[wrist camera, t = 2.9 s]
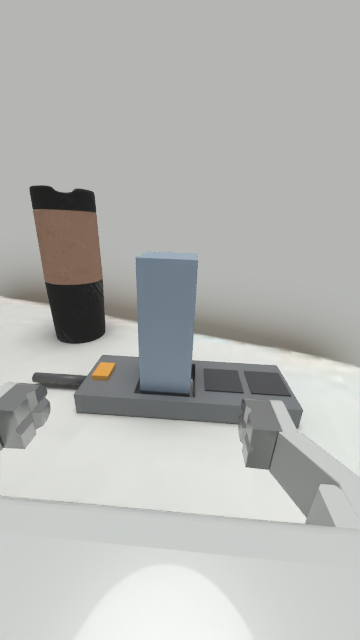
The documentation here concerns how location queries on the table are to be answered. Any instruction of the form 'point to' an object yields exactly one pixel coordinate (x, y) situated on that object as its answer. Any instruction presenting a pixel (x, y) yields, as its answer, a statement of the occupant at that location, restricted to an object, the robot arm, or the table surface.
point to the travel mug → (70, 261)
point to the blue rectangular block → (166, 321)
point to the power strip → (207, 404)
